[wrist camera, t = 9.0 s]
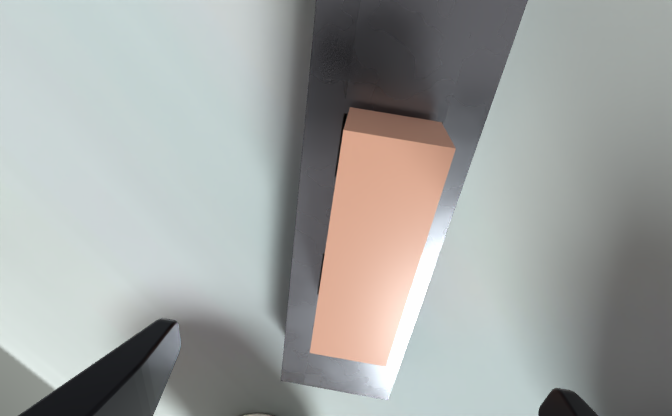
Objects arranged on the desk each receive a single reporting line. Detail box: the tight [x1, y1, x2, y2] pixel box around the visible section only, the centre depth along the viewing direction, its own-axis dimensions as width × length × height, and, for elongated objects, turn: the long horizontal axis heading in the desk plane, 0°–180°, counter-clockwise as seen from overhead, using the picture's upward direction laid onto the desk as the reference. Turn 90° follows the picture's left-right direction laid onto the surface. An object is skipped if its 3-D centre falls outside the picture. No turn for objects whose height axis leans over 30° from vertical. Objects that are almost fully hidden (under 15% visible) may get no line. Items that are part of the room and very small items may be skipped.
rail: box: [281, 0, 528, 400], centre depth 15 cm, size 6×22×2 cm, turn 173°
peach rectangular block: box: [310, 107, 456, 367], centre depth 14 cm, size 3×9×6 cm, turn 173°
